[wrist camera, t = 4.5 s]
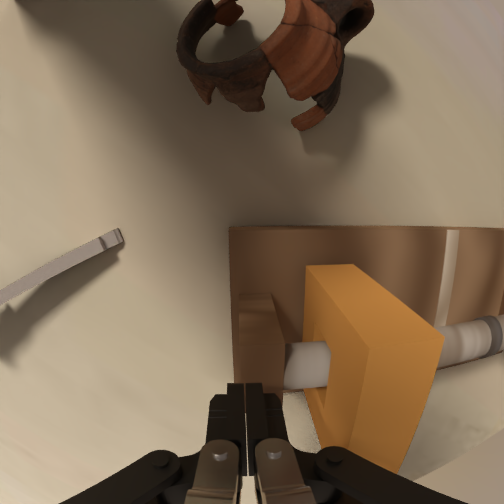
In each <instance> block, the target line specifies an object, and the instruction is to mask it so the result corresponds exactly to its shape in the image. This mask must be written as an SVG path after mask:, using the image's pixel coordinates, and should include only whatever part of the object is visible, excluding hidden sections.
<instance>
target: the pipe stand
mask: <svg viewBox="0 0 504 504" xmlns="http://www.w3.org/2000/svg"><path fill="white" fill-rule="evenodd" d="M229 260H230V292H231V319H232V344H233V366H234V383H244V397H245V413H246V390H245V383H261V382H262V387H263V393H275V394H276V395H277V396H278V398H279V399H280V400H281V405H282V404H283V393H285V392H299V391H304V390H303V389H304V388H315V387H325V386H327V384H328V376H329V368H330V360H331V351H330V349H329V347H328V345H327V343H326V341H314V342H302V338H303V321H304V300H305V275H306V265H339V264H354V265H355V266H356V267H358V268H359V269H360V270H362V271H363V272H364V273H366V274H367V275H368V276H369V277H371V278H372V279H373V280H375V281H376V282H377V283H379V284H380V285H381V286H382V287H384V288H385V289H386V290H388V291H389V292H390V293H391V294H393V295H394V296H395V297H396V298H398V299H399V300H400V301H401V302H403V303H404V304H405V305H406V306H408V307H409V308H410V309H411V310H413V311H414V312H415V313H416V314H418V315H419V316H420V317H421V318H423V319H424V320H425V321H426V322H428V323H429V324H430V325H431V326H432V327H434V328H435V329H436V330H437V331H438V332H440V333H441V334H442V335H443V336H444V337H445V339H444V343H443V347H442V351H441V355H440V358H439V362H438V366H437V369H436V370H440V369H444V368H448V367H452V366H456V365H460V364H464V363H467V362H471V361H474V360H478V359H482V358H486V357H489V356H492V355H495V354H498V353H501V352H502V351H503V350H504V228H477V227H434V226H256V227H229Z"/></svg>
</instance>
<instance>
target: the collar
mask: <svg viewBox="0 0 504 504" xmlns="http://www.w3.org/2000/svg"><path fill="white" fill-rule="evenodd" d="M444 339H445V337H444V336H443V335H442V334H441V333H440V332H438V331H437V330H436V329H435V328H434V327H432V326H431V325H430V324H429V323H428V322H426V321H425V320H424V319H423V318H421V317H420V316H419V315H418V314H416V313H415V312H414V311H413V310H411V309H410V308H409V307H408V306H406V305H405V304H404V303H403V302H401V301H400V300H399V299H398V298H396V297H395V296H394V295H393V294H391V293H390V292H389V291H388V290H386V289H385V288H384V287H382V286H381V285H380V284H379V283H377V282H376V281H375V280H373V279H372V278H371V277H369V276H368V275H367V274H366V273H364V272H363V271H362V270H360V269H359V268H358V267H356V266H355V265H354V264H339V265H306V275H305V300H304V321H303V338H302V342H314V341H326V343H327V345H328V347H329V349H330V351H331V360H330V368H329V376H328V384H327V386H325V387H315V388H304V389H303V390H304V393H305V396H306V400H307V403H308V406H309V409H310V413H311V416H312V419H313V422H314V426H315V429H316V432H317V435H318V439H319V442H320V445H321V449H323V448H325V447H329V446H339V447H343V448H345V449H347V450H349V451H351V452H353V453H355V454H357V455H359V456H361V457H363V458H364V459H366V460H368V461H370V462H372V463H374V464H376V465H378V466H380V467H382V468H385V469H387V470H389V471H391V472H393V473H395V474H397V473H398V471H399V468H400V466H401V464H402V462H403V460H404V457H405V455H406V453H407V451H408V448H409V446H410V443H411V441H412V439H413V436H414V434H415V431H416V429H417V426H418V423H419V421H420V418H421V415H422V413H423V410H424V407H425V404H426V401H427V398H428V395H429V392H430V389H431V386H432V383H433V379H434V376H435V373H436V369H437V366H438V362H439V358H440V355H441V351H442V347H443V343H444Z"/></svg>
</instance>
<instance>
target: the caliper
mask: <svg viewBox="0 0 504 504" xmlns="http://www.w3.org/2000/svg"><path fill="white" fill-rule="evenodd" d="M121 242H123V238H122V236H121V234H120V231H119V229H118V228H117V229H115V230H113V231H111V232H108V233H106V234H104V235H102V236H100V237H98V238H96V239H94V240H92V241H90V242H88V243H86V244H84V245H82V246H80V247H78V248H76V249H74V250H72V251H70V252H68V253H67V254H65V255H63V256H61V257H59V258H57V259H55V260H53V261H51V262H50V263H48V264H46V265H44V266H42V267H40V268H39V269H37V270H35V271H33V272H31V273H30V274H28V275H26V276H24V277H22V278H21V279H19V280H17V281H15V282H14V283H12V284H10V285H9V286H7V287H5V288H3V289H2V290H0V305H2V304H3V303H5V302H7V301H9V300H10V299H12V298H14V297H16V296H18V295H19V294H21V293H23V292H25V291H27V290H29V289H30V288H32V287H34V286H36V285H38V284H40V283H42V282H44V281H45V280H47V279H49V278H51V277H53V276H55V275H57V274H59V273H61V272H63V271H65V270H67V269H69V268H70V267H72V266H74V265H76V264H78V263H80V262H82V261H84V260H86V259H88V258H90V257H92V256H95V255H97V254H99V253H101V252H103V251H105V250H106V249H108V248H110V247H113V246H115V245H117V244H119V243H121Z"/></svg>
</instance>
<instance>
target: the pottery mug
mask: <svg viewBox="0 0 504 504" xmlns="http://www.w3.org/2000/svg"><path fill="white" fill-rule="evenodd" d="M235 1H238V0H220V1H219V2H218V3H217V4H215V5H214V4H213V2H212V0H201V1H200V2H198V3H197V4H196V5H195V7H194V8H193V9H192V10H191V11H190V12H189V14H188V16H187V17H186V18H185V20H184V22H183V24H182V26H181V28H180V30H179V34H178V38H177V39H178V42H177V50H176V52H177V54H178V58H179V61H180V63H181V65H182V66H183V67H184V68H185V69H187V73H188V77H189V78H190V81H191V82H192V84H193V85H194V87H195V89H196V91H197V92H198V94H199V96H200V97H201V98H202V100H203V101H204V102H205V103H206V104H207V105H209V104H210V103H211V101H212V99H211V95H212V93H213V91H214V89H215V86H216V87H217V88H218V90H219V92H220V94H221V95H222V96H224V98H225V99H227V100H228V101H230V102H232V103H235V104H237V105H238V106H239V107H240V108H241V109H242V110H243V111H246V112H259V111H262V110H264V109H265V105H264V101H263V99H262V97H261V96H262V94H263V92H264V89H265V84H266V81H267V78H268V77H269V75H270V72H271V70H272V69H273V70H274V71H275V72H276V74H277V75H278V77H279V78H280V79H281V81H282V83H283V85H284V86H285V88H286V91H287V94H288V95H289V97H290V98H293V99H295V100H299V101H303V100H305V99H307V98H309V97H312V99H313V100H314V101H316V102H317V105H315V106H314V107H312V108H311V109H309V110H308V111H306V112H304V113H302V114H300V115H298V116H296V117H294V118H292V120H291V123H292V125H293V126H294V127H295V128H297V129H298V130H299V131H304V130H306V129H308V128H311V127H313V126H314V125H316V124H317V123H319V122H320V121H321V120H323V119H324V118H325V117H326V116H327V115H328V114H329V113H330V112H331V111H332V109H333V108H334V106H335V104H336V103H337V100H338V97H339V94H340V87H341V78H342V74H343V66H344V58H345V54H344V48H345V46H346V44H347V43H348V42H349V41H350V40H351V39H352V38H353V37H355V36H356V35H357V34H359V33H360V32H361V31H362V30H363V29H364V28H365V27H366V26H367V25H368V24H369V23H370V21H371V20H372V18H373V15H374V7H373V3H372V1H371V0H285V3H286V8H285V13H284V16H283V19H282V21H281V24H280V25H279V26H278V27H277V29H276V30H275V31H274V32H273V33H272V34H271V35H270V37H269V38H267V39H266V40H265V41H264V42H263V43H262V44H261V45H260V46H259V47H258V48H257V49H254V50H252V51H250V52H248V53H247V54H245V55H243V56H241V57H239V58H236V59H233V60H230V61H225V62H220V63H204V62H201V61H200V60H198V59H197V57H196V54H195V52H196V48H197V45H198V42H199V40H200V39H201V37H202V36H203V35H204V34H205V33H206V32H207V31H208V30H209V29H210V28H211V27H212V26H213V25H214V24H215V23H218V24H221V25H226V26H231V25H232V24H234V22H236V21H237V20H238V19H239V17H240V16H241V15H242V14H243V12H244V10H243V8H242V7H241V6H240V5H238V4H236V2H235Z"/></svg>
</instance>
